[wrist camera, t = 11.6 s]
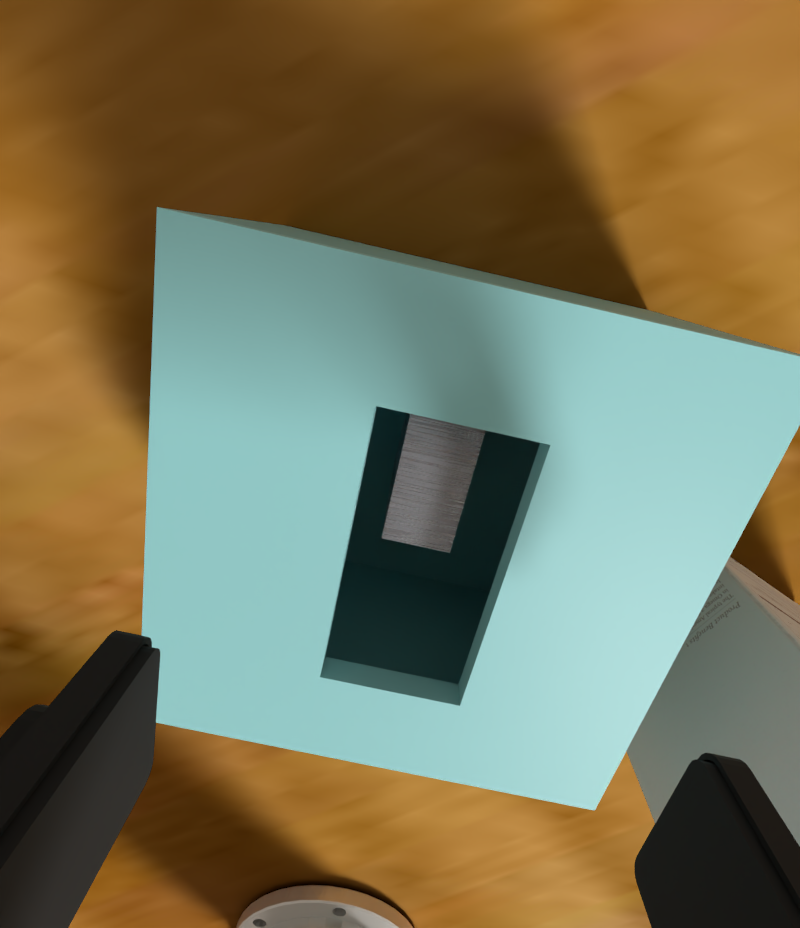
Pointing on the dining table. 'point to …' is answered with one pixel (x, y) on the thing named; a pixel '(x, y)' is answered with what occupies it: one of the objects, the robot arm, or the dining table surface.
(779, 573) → the dining table surface
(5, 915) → the robot arm
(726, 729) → the supplement box
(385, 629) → the coin box
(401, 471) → the grey metal block
